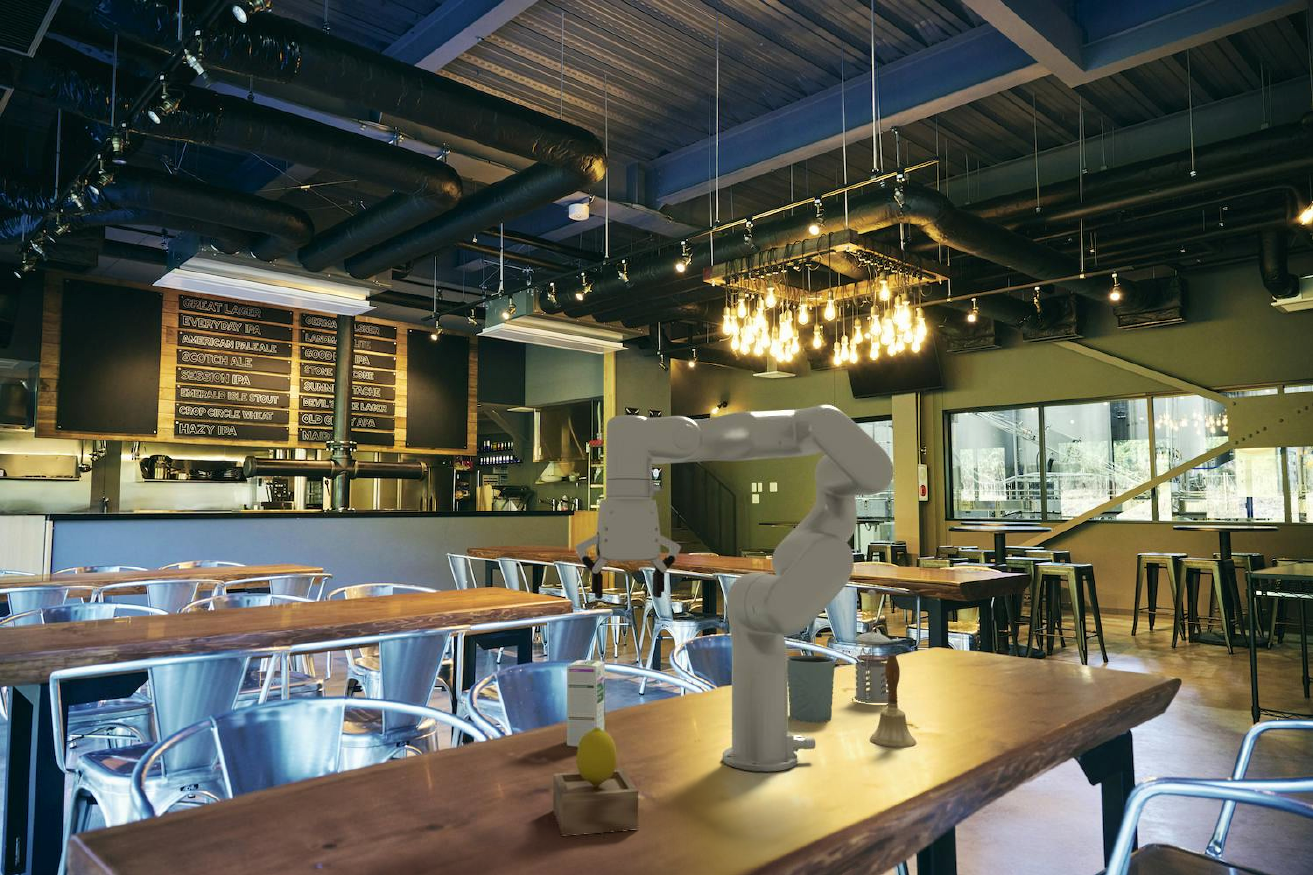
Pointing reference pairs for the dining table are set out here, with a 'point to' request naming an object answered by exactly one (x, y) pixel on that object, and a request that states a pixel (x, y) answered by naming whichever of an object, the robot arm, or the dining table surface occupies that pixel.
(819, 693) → the grey teal cup
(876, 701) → the french press
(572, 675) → the syrup box
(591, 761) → the lemon
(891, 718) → the hand bell
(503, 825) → the dining table surface
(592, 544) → the robot arm
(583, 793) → the brown wooden tray
